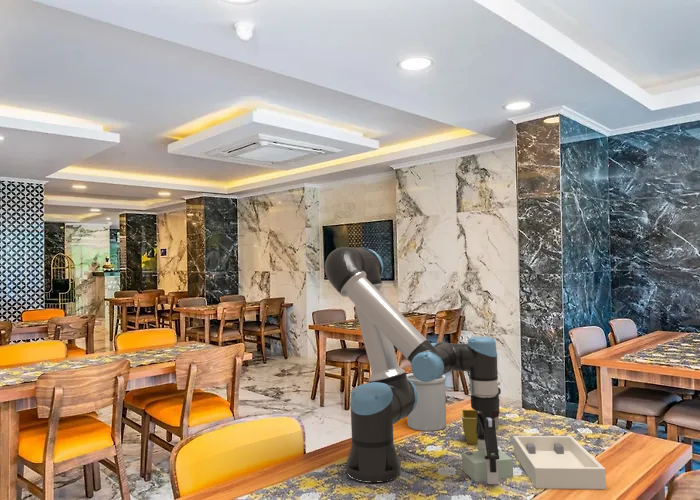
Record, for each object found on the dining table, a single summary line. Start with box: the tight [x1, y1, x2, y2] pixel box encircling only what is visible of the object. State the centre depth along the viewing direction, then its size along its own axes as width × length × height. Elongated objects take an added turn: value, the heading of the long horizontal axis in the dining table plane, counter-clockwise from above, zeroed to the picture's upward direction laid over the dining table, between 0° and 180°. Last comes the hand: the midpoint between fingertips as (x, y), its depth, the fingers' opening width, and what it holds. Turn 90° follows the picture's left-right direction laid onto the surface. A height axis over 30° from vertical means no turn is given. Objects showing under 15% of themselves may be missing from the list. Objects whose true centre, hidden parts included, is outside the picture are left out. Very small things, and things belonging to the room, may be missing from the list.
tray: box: [512, 435, 607, 490], centre depth 136 cm, size 17×24×5 cm
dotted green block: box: [461, 448, 514, 483], centre depth 135 cm, size 11×8×5 cm
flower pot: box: [461, 409, 478, 445], centre depth 159 cm, size 9×9×9 cm
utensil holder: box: [406, 372, 447, 432], centre depth 177 cm, size 15×15×18 cm
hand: (488, 473), depth 134 cm, fingers open, 13 cm apart
